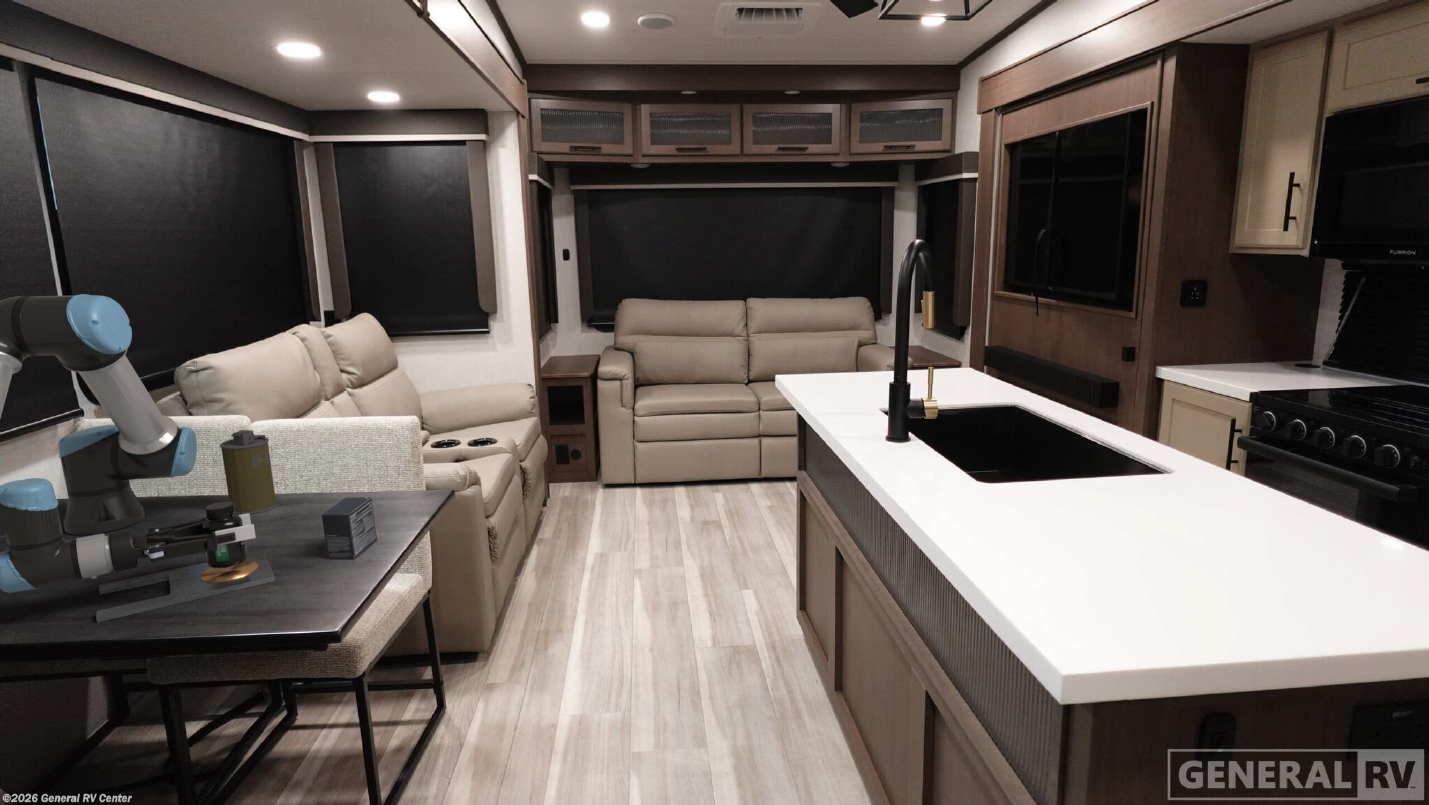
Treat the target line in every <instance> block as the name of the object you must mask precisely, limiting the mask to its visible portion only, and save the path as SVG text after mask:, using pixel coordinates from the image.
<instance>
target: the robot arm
mask: <svg viewBox="0 0 1429 805" xmlns="http://www.w3.org/2000/svg"><path fill="white" fill-rule="evenodd" d="M130 322H131V320H130V319H129V317H128V315H127V313H126V311H125V309H124V308H123V307H122V306H121V304H120V303H118V302H117V301H116V300H114V299H113V298H111V297H108V296H105V295H93V294H92V295H91V294H88V293H87V294H83V293H82V294H76V295H75V294H74V295H73V294H72V295H40V296H39V295H34V296H33V295H32V296H28V295H20V296H17V295H16V296H12V297H11V296H10V297H8V298H5V299H1V300H0V419H1V418H2V414H3V410H4V406H5V402H6V398H7V395H8V392H9V387H10V384H11V380H12V377H13V374H16V373H18V372H20V371H21V369H22V367H23V363H24V360H26V359H27V358H28V357H36V356H37V357H39V356H40V357H41V356H44V357H45V356H55V357H56V358H57V360H58V361H59V363H60V364H61V365H62V366H63V368H65V369H66V370H68V371H71V372H75V373H78V374H79V375H80V377H81V378H82V379H83V381H84V382H85V384H86V385H87V387H88V388H89V390H90V391H91V393H92V394H93V396H94V397H95V398H96V400H97V401H98V402H99V404H100V405H101V407H102V408H103V410H104V411H105V412H106V415H108V416H109V419H111V421H112V423H113V424H103V425H98V426H93V427H90V428H89V427H88V428H84V429H81V430H77V431H74V432H72V433H71V432H70V433H68V434H66V435H64V436H62V437H61V438H60V439H59V442H58V451H59V454H58V455H59V456H58V458H60V463H61V468H62V472H63V477H64V481H65V482H64V483H65V486H66V490H67V491H66V492H67V498H68V500H67V506H66V512H65V517H64V519H63V527H64V532H65V533H67V534H69V535H75V536H76V535H77V536H79V535H80V536H81V535H84V536H82V537H77V538H72V539H65V537H64V532H63V528H62V521H61V516H60V510H59V500H58V499H57V497H56V493H55V489H54V487H53V483H52V482H51V481H50V480H48V479H46V478H39V477H31V478H25V479H18V480H16V479H15V480H13V481H12V480H11V481H9V482H6V483H3V484H1V485H0V538H5V540H6V545H7V549H6V550H5V551H1V552H0V590H1V591H2V592H4V593H7V594H8V593H11V594H12V593H17V592H23V591H29V590H40V589H41V588H46V587H51V586H55V585H58V584H59V585H60V584H64V583H69V582H72V581H77V580H83V579H88V578H91V579H92V580H95V579H97V578H98V576H102V575H107V574H110V572H111V571H112V570H113V571H114V572H116V573H118V572H119V573H120V572H122V571H128V570H129V571H130V570H134V569H136V568H138V567H139V565H140V564H139V562H140V561H139V560H140V559H144V558H145V559H146V558H149V561H150V563H156V562H160V561H163V560H168V559H169V560H170V559H174V558H178V557H186V556H190V555H192V556H193V555H196V554H197V555H198V554H203V553H206V552H210V551H216V550H217V546H218V545H223V544H228V543H233V542H238V541H243V540H245V541H249V540H252V539H257V538H256V531H255V525H254V523H253V524H252V522H251V514H249V513H248V514H243V515H238V516H240V517H241V518H242V522H243V526H241V527H235V528H230V529H225V530H220V531H215V534H205V535H203V531H202V525H203V523H204V521H205V520H207V519H208V518H207V517H206V516H205V517H202V518H197V519H193V520H188V521H184V522H179V523H173V524H170V525H165V526H159V527H151V528H148V529H147V533H146V534H143V535H139V536H135V532H134V529H131V528H128V527H130V526H133V525H134V524H137V523H139V522H141V521H142V520H143V519H144V518H145V510H144V507H143V505H142V504H141V503H140V501H139V499H138V497H137V495H136V494H135V493H134V490H133V489H132V486H131V483H130V482H131V481H132V480H151V479H166V478H171V479H172V478H174V477H175V478H176V477H182V476H186V475H188V474H191V472H192V471H193V469H194V467H195V464H196V460H197V455H198V454H197V453H198V451H197V450H198V443H197V436H196V432H195V431H194V429H193V428H191V427H187V426H183V427H179V426H178V425H177V423H176V421H175V420H174V419H173V418H171V417H170V416H168V415H165V414H162V412H161V411H160V410H159V408H158V406H157V404H156V402H155V401H154V400H153V398H152V396H151V395H150V393H149V391H148V390H147V389H146V386H145V385H144V383H143V381H142V380H141V378H140V376H139V375H138V374H137V371H136V370H135V369H134V367H133V365H132V364H131V362H130V361H129V359H128V357H127V356H126V354H127V352H128V348H129V347H130V345H131V342H132V340H133V339H132V338H133V331H132V326H130ZM126 527H127V529H124V528H126ZM120 529H122V530H120ZM107 532H110V533H108V535H106V534H105V533H107ZM85 535H86V536H85ZM215 535H216V536H215Z"/></svg>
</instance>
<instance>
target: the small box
mask: <svg viewBox="0 0 1429 805" xmlns="http://www.w3.org/2000/svg"><path fill="white" fill-rule="evenodd" d="M321 519H322V525H323V526H322V527H323V534H324V541H325V549H326V556H327V560H356V559H357V558H358V557H360V556H361V555H362V554H363V553H364V552H366V550H367V549H369V548H370V547H371V546H372V545H373V544H375V543H376V542H377V541H378V537H377V530H376V522H375V515H374V507H373V498H372V496H367V497H364V496H363V497H361V496H360V497H357V496H356V497H353V496H352V497H344V498H343V499H342V500H340V501H339V502H338V503H336V504H334V505H333V506H332V507H330V508H328V509H327V510H326V511H325V512H323V513H322V514H321Z"/></svg>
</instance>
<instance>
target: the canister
mask: <svg viewBox="0 0 1429 805" xmlns="http://www.w3.org/2000/svg"><path fill="white" fill-rule="evenodd" d="M230 436H231V437H233V438H231V439H227V440H226V441H223V442H221V443H220V444H219V448H220V449H221V454H222V455H221V456H222V460H223V468H224V475H225V482H226V487H227V488H226V489H227V495H228V502H233V503H234V508H235V513H234V514H236V515H243V514H248V513H249V514H250V515H254V514H260V513H264V512H267V511H270V510H272V509H274V508H276V506H278V501H277V500H276V492H275V486H274V485H275V484H274V478H273V469H272V463H271V455H270V449H269V448H270V447H269V441H270V439H269V438H268V437H266V435H265V434H257V435H256V434H255V432H254V430H249V429H241V430H238V431H236V432H233V433H231V435H230Z"/></svg>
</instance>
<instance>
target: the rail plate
mask: <svg viewBox="0 0 1429 805" xmlns="http://www.w3.org/2000/svg"><path fill="white" fill-rule="evenodd" d="M275 581H276V578H275V574H274V572H273V569H272V566H271V564H270V562H269V558H268V556H267V554H266V550H259V551H255V552H249V553H247V558H246V560H245V561H244V562H242V563H240V564H238V565H235V566H231V567H227V568H212V567H210V566H209V565H208V562H207V561H206V562H203V563H202V562H201V563H198V564H193V565H188V566H183V567H178V568H173V569H170V570H165V571H159V572H156V573H150V574H146V575H141V576H137V577H135V576H134V577H131V578H126V579H123V580H118V581H112V582H108V583H103V584H99V590H98V592H99V596H103V595H102V594H105V595H109V594H111V593H110V592H114V593H116V592H115V591H119V592H121V591H120V590H123V591H126V590H125V589H128V590H131V588H132V589H136V588H135V587H137V588H141V587H145V585H146V586H150V585H153V584H154V585H155V584H160V583H163V582H169V592H170V594H166V595H161V596H158V597H157V596H156V597H153V598H147V599H144V600H139V601H135V602H131V603H127V604H122V605H117V606H113V607H108V608H104V609H99V610H96V614H95V615H96V616H95V618H96V623H101V622H105V621H111V620H115V619H119V618H123V617H127V616H131V615H134V614H135V615H137V614H140V613H143V612H144V613H145V612H149V611H152V610H153V611H154V610H157V609H162V608H165V607H170V606H174V605H178V604H183V603H186V602H190V601H195V600H196V601H197V600H200V599H204V598H208V597H212V596H216V595H217V596H218V595H221V594H225V593H229V592H234V591H238V590H241V589H246V588H250V587H255V586H259V585H263V584H268V582H269V583H273V582H275ZM159 582H160V583H159ZM108 593H109V594H108Z"/></svg>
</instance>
